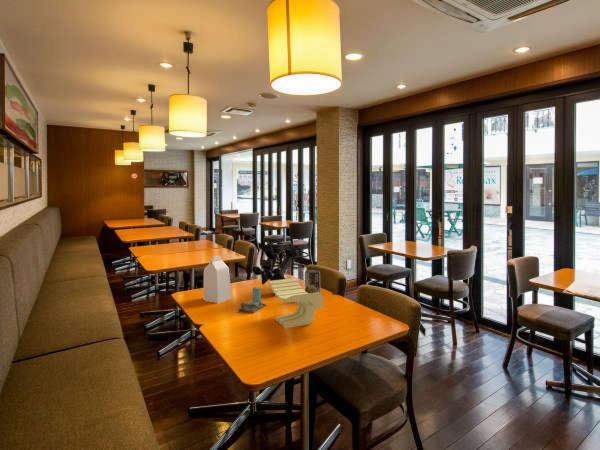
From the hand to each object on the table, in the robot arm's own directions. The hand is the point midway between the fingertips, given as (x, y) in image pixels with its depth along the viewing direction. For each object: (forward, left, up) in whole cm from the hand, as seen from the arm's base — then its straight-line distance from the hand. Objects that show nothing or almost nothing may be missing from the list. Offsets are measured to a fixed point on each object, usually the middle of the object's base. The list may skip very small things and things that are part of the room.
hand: (262, 284), depth 213 cm
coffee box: (-6, +30, -11) cm, 33 cm away
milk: (-11, -27, -11) cm, 31 cm away
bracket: (+10, -6, -11) cm, 16 cm away
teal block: (+9, -5, -10) cm, 14 cm away
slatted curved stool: (+33, +15, -11) cm, 38 cm away
